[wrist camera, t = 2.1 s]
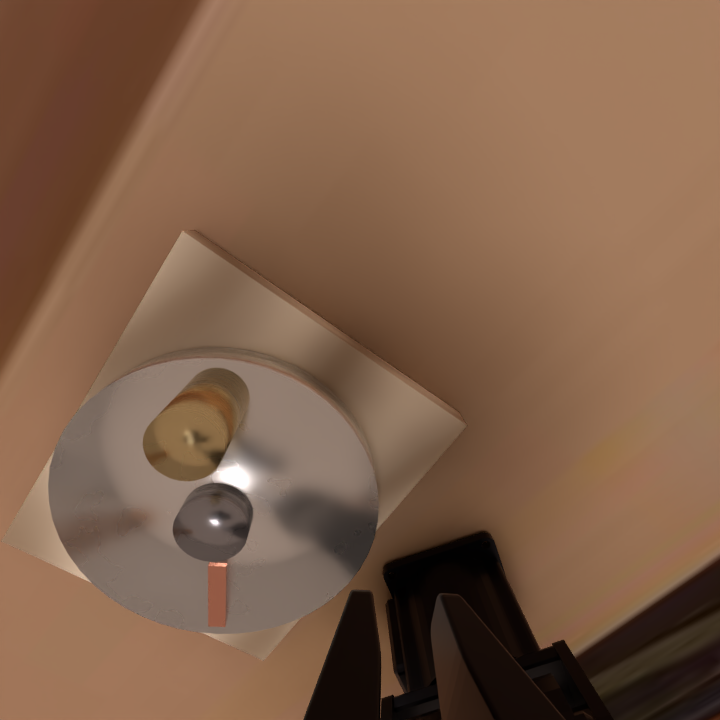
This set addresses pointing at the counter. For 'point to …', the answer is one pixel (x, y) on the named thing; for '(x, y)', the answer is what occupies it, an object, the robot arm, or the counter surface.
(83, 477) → the handwheel
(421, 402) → the base plate
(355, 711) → the robot arm
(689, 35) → the counter surface
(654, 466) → the counter surface
